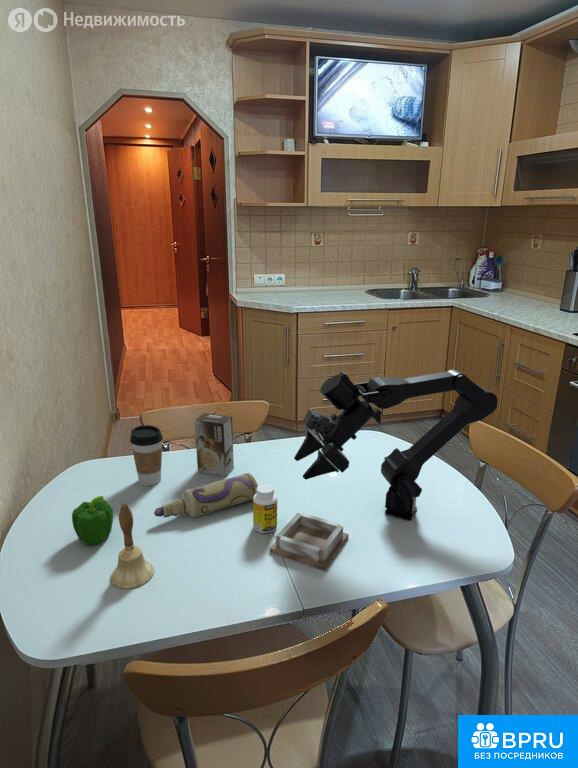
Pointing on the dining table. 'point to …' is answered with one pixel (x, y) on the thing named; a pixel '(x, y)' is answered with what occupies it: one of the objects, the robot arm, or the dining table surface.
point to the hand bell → (130, 557)
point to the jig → (310, 540)
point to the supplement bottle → (265, 509)
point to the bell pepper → (93, 521)
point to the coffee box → (214, 444)
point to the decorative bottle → (212, 497)
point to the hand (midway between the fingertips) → (299, 468)
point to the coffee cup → (147, 453)
